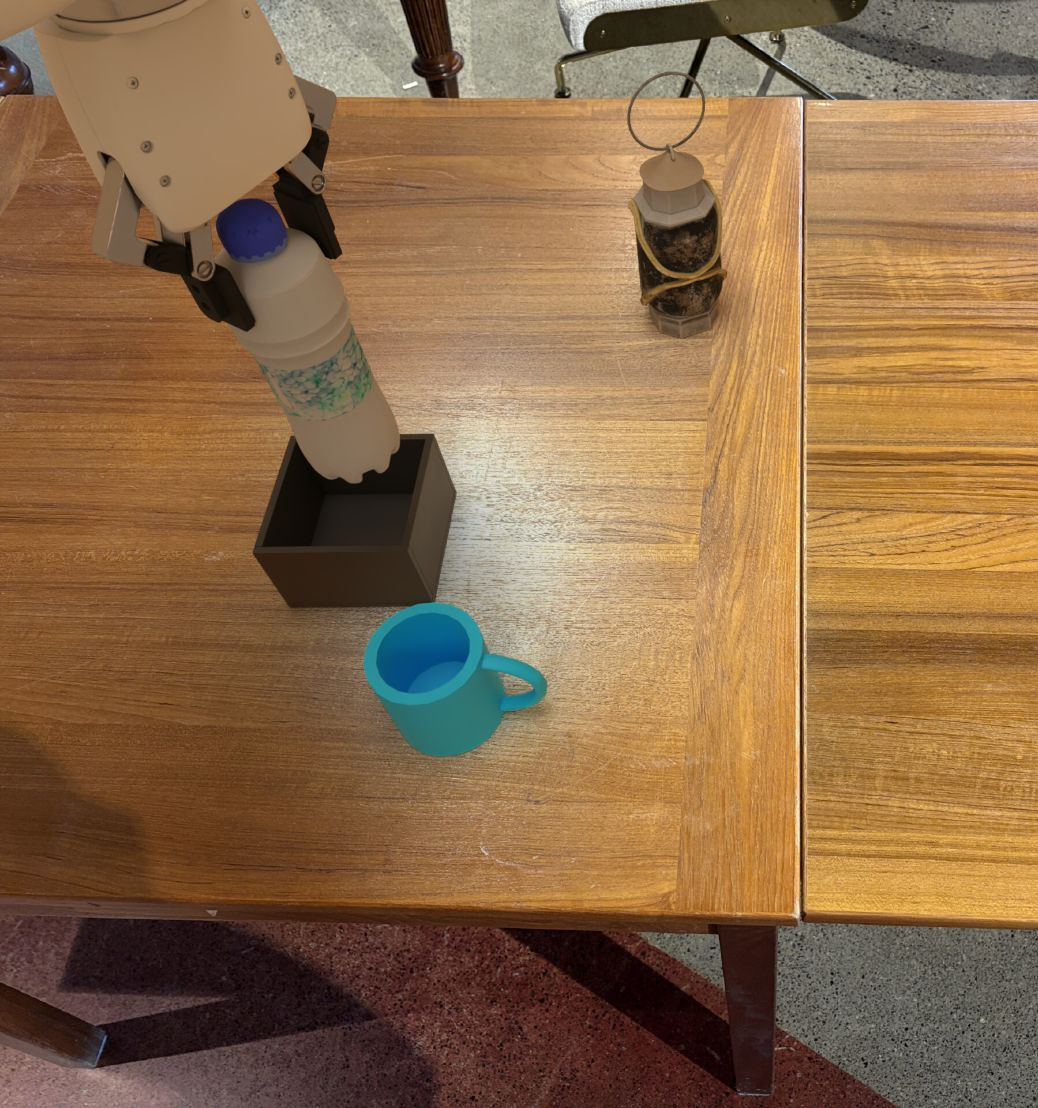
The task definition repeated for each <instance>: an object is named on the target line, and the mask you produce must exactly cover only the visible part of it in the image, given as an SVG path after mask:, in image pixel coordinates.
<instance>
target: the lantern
mask: <svg viewBox="0 0 1038 1108" xmlns="http://www.w3.org/2000/svg"><path fill="white" fill-rule="evenodd" d="M667 76H680V77H683V78H686V79H688V80H689V81H690V82H692V83H693V84H694V85H695V87H696V88H697V89H698V92H699V93H700V96H701V103H702V104H701V112H700V117H699V119H698V121H697V124H696V125H695V127H694V128H693V130H692V131H691V132H690V133H689V134H688V135H687V136H686V137H684V138H683V139H682V140H681V141H679V142H677V143H675V144H671V143H670V142H667V143H666V144H665V146H664V147H654V146H650V145H648V144H645V143H644V142H642V141H641V140H640V139H639V138H638V137H637V136H636V134H635V132H634V130H633V128H632V124H631V113H632V108H633V105H634V102H635V101H636V98H637V97H638V95H639V94H640V93H641V92H642V90H644V88H645V87H646V86H648V85H649V84H651V83H652V82H653V81H655V80H657V79H660V78H662V77H667ZM705 97H706V96H705V93H704V91H703V88H702V87H701V85H700V83H699V82H698V81H697V80H696V79H695V78H694V77H693V76H691V75H690V74H687V73H684V72H680V71H672V70H671V71H664V72H661V73H658V74H655V75H653V76H652V77H650V78H648V79H647V80H646V81H644V82H643V83H642V84H641V85H640V86H639V87H638V88H637V90H636V91H635V92H634V94H633V96H632V97H631V100H630V103H629V104H628V109H627V114H626V117H627V118H626V119H627V121H626V122H627V127H628V131H629V133H630V135H631V138H633V140H634V141H635V142H636V143H637V144H638V145H640V146H641V147H642V148H645V149H647V150H650V151H655V152H662V153H660V154H657V155H655V156H652V157H650V158H647V159H646V160H645V161H643V162H642V164H641V165H640V166H639V169H638V172H639V176H640V178H641V180H642V185H641V186H640V188H639V189H638V190H637V192H636V193H635V195H634V196H633V198H631V200H628V203H627V209H628V210H629V211H630V213H631V215H632V217H633V222H634V231H635V233H634V234H635V243H636V254H637V264H638V274H639V276H638V277H639V285H640V287H639V288H640V292H641V295H640V298H639V301H640V304H641V305H642V306H645V307H646V306H648V312H649V315H650V317H651V319H652V321H653V322H654V324H655V327H656V328H657V329H658V332H659V333H661V334H665V335H668V336H672V337H675V338H679V339H683V338H686V337H690V336H694V335H696V334H700V333H703V332H706V331H709V330H712V327H713V326H714V324H715V322H716V320H717V318H718V317H719V315H720V314H719V313H720V312H719V302H718V298H719V297H720V295H721V293H722V289H723V284H724V283H723V282H724V281H725V280H726V279H727V277H728V270H727V269H725V268H723V267H722V266H723V265H722V256H721V254H722V253H721V249H722V241H723V211H722V206H721V202H720V200H719V197H718V195H717V193H716V191H715V189H714V187H713V185H712V183H711V182H710V181H709V180H708V179H706V178H703V177H704V175H705V168H704V165H703V163H702V162H701V160H699V159H698V158H697V157H696V156H695V155H694V154H691V153H689V152H685V151H676V150H675V148H678V147H680V146H682V145H684V144H685V143H686V142H687V141H689V140H690V139H691V138H692V137H693V136H694V135H695V133H696V132H697V131H698V129H699V128H700V126H701V124H702V122H703V119H704V116H705V112H706V98H705Z"/></svg>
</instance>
